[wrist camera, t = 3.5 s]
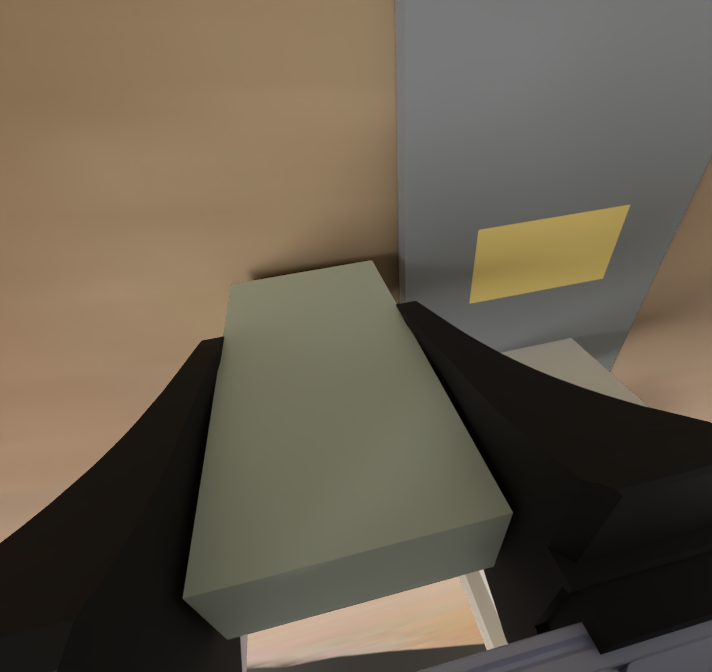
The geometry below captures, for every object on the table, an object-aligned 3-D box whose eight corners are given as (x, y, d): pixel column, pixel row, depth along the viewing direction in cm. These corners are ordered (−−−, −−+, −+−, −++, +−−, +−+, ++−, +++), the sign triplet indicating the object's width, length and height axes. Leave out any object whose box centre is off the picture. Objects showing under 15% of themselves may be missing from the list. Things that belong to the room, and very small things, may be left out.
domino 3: (560, 369, 18) (754, 569, 11) (468, 389, 17) (608, 613, 10) (571, 337, 17) (799, 540, 10) (472, 358, 16) (635, 587, 9)
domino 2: (504, 526, 28) (586, 682, 21) (445, 541, 27) (508, 707, 20) (509, 513, 27) (597, 674, 20) (447, 529, 26) (515, 701, 19)
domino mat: (529, 521, 30) (535, 531, 30) (403, 554, 29) (406, 565, 29) (781, -58, 10) (816, -66, 9) (394, -25, 9) (404, -32, 8)
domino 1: (375, 308, 14) (493, 566, 7) (247, 332, 13) (227, 640, 6) (371, 260, 12) (513, 512, 5) (231, 284, 12) (182, 598, 5)
